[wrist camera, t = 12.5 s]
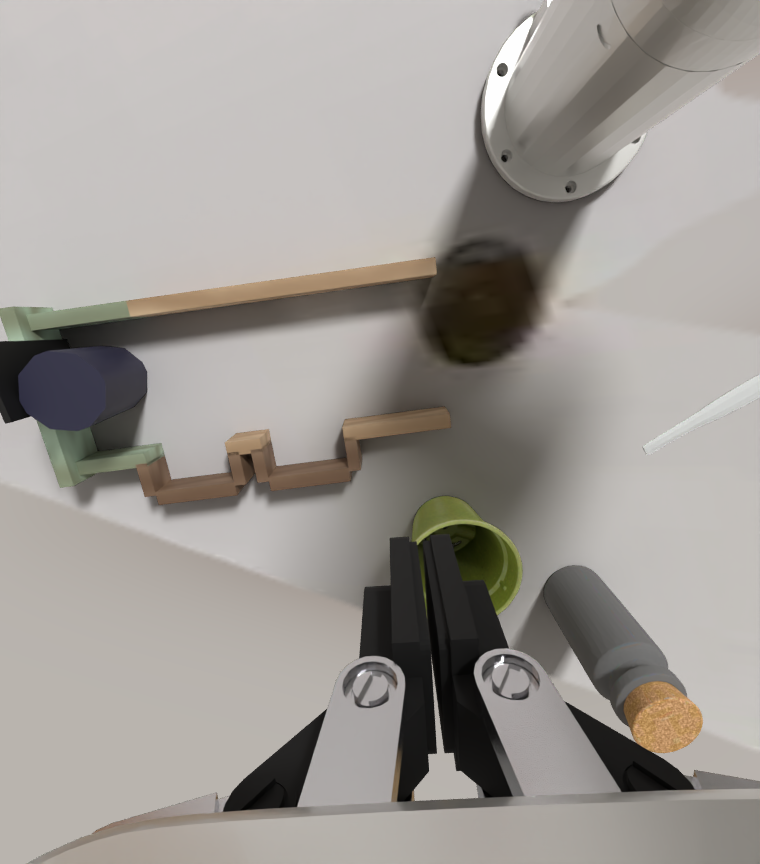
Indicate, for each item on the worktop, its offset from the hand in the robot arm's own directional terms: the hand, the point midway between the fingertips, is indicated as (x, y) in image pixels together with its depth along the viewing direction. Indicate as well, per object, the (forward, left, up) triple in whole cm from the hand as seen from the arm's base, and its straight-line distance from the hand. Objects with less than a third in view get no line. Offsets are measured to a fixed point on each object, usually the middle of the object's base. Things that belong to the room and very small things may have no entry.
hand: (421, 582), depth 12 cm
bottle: (+22, +15, -28) cm, 38 cm away
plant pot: (+13, +3, -28) cm, 31 cm away
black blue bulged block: (-6, -24, -28) cm, 37 cm away
